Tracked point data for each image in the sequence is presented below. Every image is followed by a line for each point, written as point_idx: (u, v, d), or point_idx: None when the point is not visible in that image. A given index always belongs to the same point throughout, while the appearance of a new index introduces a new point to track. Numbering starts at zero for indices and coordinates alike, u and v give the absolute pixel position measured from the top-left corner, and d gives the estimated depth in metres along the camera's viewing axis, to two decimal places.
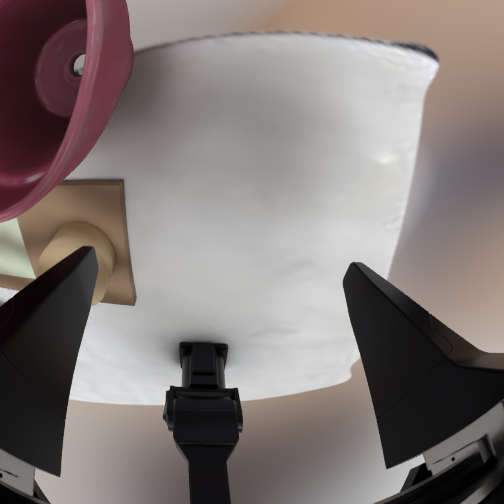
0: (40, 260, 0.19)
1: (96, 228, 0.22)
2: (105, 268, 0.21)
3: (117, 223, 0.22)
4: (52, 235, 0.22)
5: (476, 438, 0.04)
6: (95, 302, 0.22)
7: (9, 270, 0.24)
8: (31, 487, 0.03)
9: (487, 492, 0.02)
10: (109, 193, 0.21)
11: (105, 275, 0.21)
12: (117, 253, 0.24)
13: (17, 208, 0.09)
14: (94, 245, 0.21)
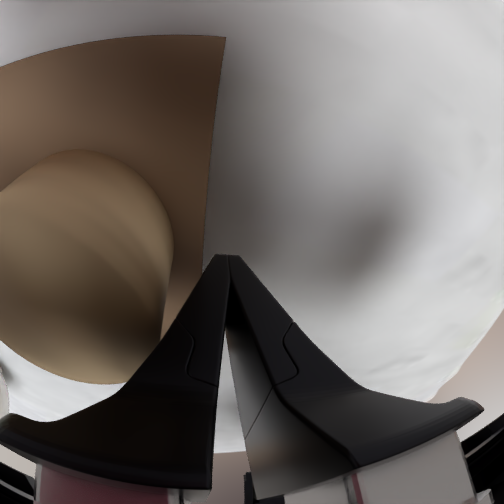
0: None
1: (125, 167, 0.08)
2: (157, 289, 0.07)
3: (195, 152, 0.08)
4: None
5: None
6: (123, 378, 0.08)
7: None
8: None
9: (487, 492, 0.02)
10: (187, 59, 0.06)
11: (159, 312, 0.07)
12: (177, 243, 0.10)
13: None
14: (121, 211, 0.06)
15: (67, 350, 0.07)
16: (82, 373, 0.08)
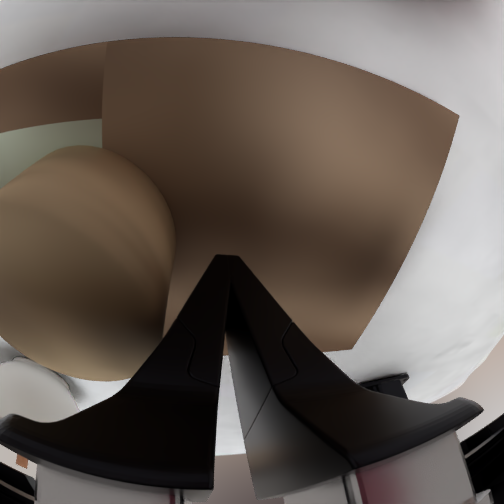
0: None
1: (130, 165, 0.08)
2: (161, 287, 0.07)
3: (427, 191, 0.10)
4: (236, 205, 0.09)
5: None
6: (123, 375, 0.08)
7: None
8: None
9: (487, 492, 0.02)
10: (440, 124, 0.08)
11: (163, 309, 0.07)
12: (391, 256, 0.11)
13: None
14: (127, 207, 0.06)
15: (68, 346, 0.07)
16: (82, 370, 0.08)
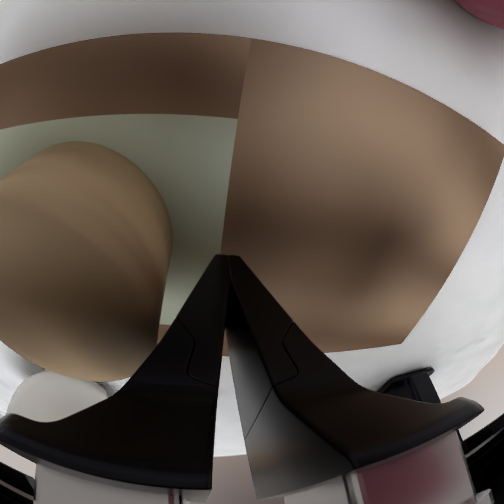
0: None
1: (128, 163, 0.07)
2: (157, 289, 0.07)
3: (479, 207, 0.10)
4: (350, 216, 0.10)
5: None
6: (116, 376, 0.08)
7: None
8: None
9: (487, 492, 0.02)
10: (494, 154, 0.08)
11: (158, 311, 0.07)
12: (448, 260, 0.12)
13: None
14: (124, 207, 0.06)
15: (61, 346, 0.06)
16: (74, 369, 0.07)
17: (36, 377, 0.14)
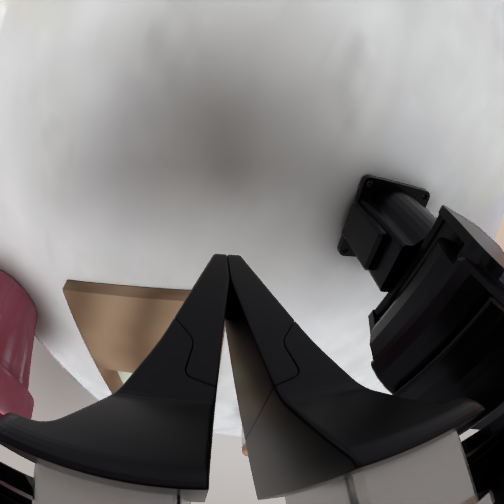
0: None
1: None
2: None
3: (100, 298, 0.20)
4: (133, 352, 0.24)
5: None
6: None
7: None
8: None
9: (487, 492, 0.02)
10: (72, 298, 0.20)
11: None
12: (139, 305, 0.21)
13: None
14: None
15: None
16: None
17: None
